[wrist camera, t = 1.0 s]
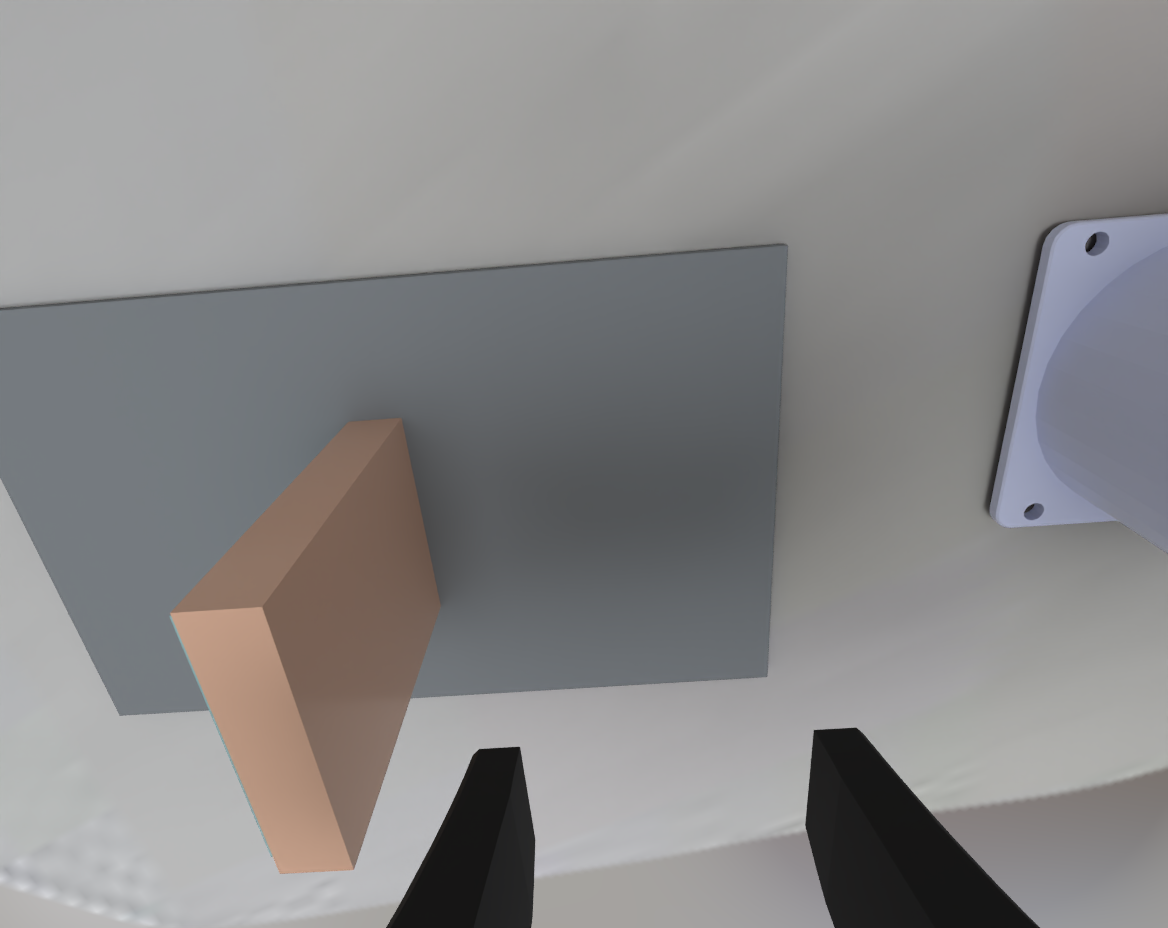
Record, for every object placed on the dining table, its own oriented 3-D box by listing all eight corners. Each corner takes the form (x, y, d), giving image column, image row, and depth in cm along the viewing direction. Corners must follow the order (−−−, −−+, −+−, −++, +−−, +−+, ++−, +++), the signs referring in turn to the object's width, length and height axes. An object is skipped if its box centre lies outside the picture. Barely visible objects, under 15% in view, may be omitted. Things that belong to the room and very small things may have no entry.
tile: (401, 417, 17) (262, 607, 10) (440, 606, 19) (353, 869, 12) (341, 422, 17) (156, 613, 10) (387, 609, 19) (269, 874, 12)
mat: (783, 243, 15) (787, 245, 15) (764, 667, 21) (767, 676, 20) (-66, 314, 16) (-80, 317, 16) (127, 706, 22) (119, 715, 21)
